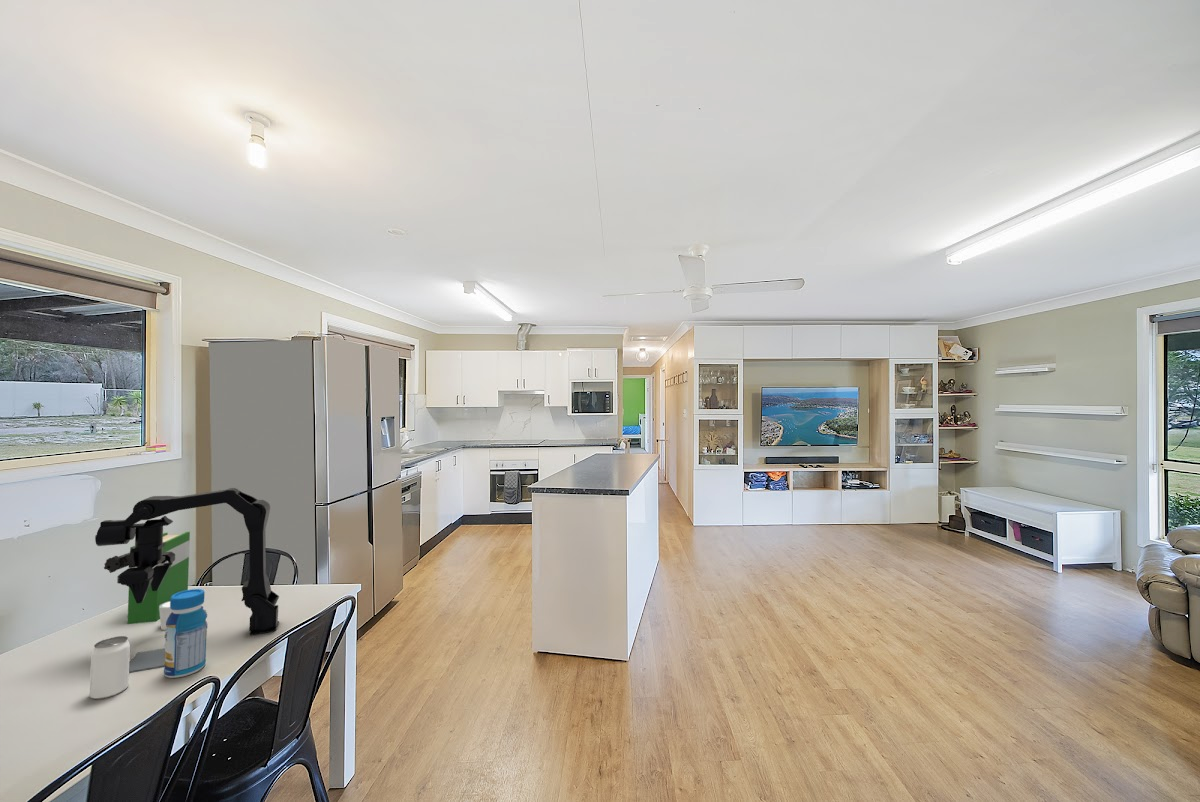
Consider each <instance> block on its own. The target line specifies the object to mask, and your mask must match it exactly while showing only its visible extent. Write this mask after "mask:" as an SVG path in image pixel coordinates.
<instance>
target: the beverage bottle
mask: <svg viewBox="0 0 1200 802" xmlns="http://www.w3.org/2000/svg"><path fill="white" fill-rule="evenodd" d="M205 593H206V592H205V590H204V589H202V588H201V589H200V588H192V589H188V590H185V591H181V592H178V593H176V594H174V595H172V596H171V599H170V608H171V610H172V611H173V612H172V613H171V614H170V615H169V617H168V619H167V621H166V627H167V630H165V631H164V640H165V641H164V648H165V667H163V668H164V670H163V674H164V676H165V678H168V679H169V678H170V679H177V678H183V677H186V676H187V677H188V676H189V675H192V674H195V673H196V672H199V671H200V670H202V669H203V668H204V667H205V665H206V664H207V663H206V661H207V659H206V656H207V655H206V654H207V632H208V627H209V626H208V621H207V618H208V612H207V610H206V609H205V608H204V606H203V604H204V602H205V596H206V595H205Z"/></svg>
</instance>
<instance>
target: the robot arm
mask: <svg viewBox="0 0 1200 802" xmlns="http://www.w3.org/2000/svg"><path fill="white" fill-rule="evenodd" d="M221 504H227V505H229V506H230V507H231V508H233V510H235V511H236V512H237V513H239V514H241V515H243V521H244V524H245V527H246V529H247V531H248V547H249V548H248V552H249V555H248V559H249V561H248V563H249V565H248V566H249V578H248V579H249V580H246V581H245V582H244V583H243V585H242V587H241V592H242V598H241V602H244V606H245V607H247V608H248V609H250V611H251V615H250V616H249V628H248V629H249V631H250V632H249V635H250V636H251V635H258V634H264V633H271V632H276V630H277V628H278V626H279V624H280V621H279V604H277V603H278V601H279V598H280V595H278V594H277V593H275V592H274V591H272V588H271V584H270V579H269V577H268V575H267V562H266V561H267V559H266V557H267V556H266V554H267V553H266V548H267V547H266V529H267V523H268V521H269V516H270V511H271V505H270V503H269V502H268V501H267V500H264V499H257V498H256V497H254V496H252V495H250V494H247V493H244V492H243V491H241V490H240V489H238V488H236V487H230V488H226V489H222V490H221V489H219V490H214V491H207V492H201V493H195V494H189V495H188V494H187V495H182V496H181V495H180V496H175V495H174V496H173V495H172V496H171V495H153V496H152V495H151V496H149V497H147V498H144V499H142V500H139V501H138V502H137V503H136V504H134V505H133V508H132V512H131V514H130V515H128V517H127V518H125V519H119V520H118V519H112V520H111V519H109V520H108V519H107V520H102V521H101V522H100V526H99V528H98V529H97V532H96V535H95V536H94V541H95V542H94V543H95V545H96V546H98V547H105V546H106V547H107V546H115V545H127V544H128V543H130V541H132V540H134V546H135V547H134V548H132V549H131V550H129V552H128V553H124V554H122V555H119V556H118V555H114V556H113V557H109V558H107V559H106V560H105V563H104V567H103V569H104V570H107V571H108V572H109V573H110V574H111V573H114V572H116V571H118V570H121V569H123V568H126V567H128V568H127V569H125V570H124V571H122V572H121V573H120V574H118V576H117V582H116V583H117V584H120V585H122V586H127V587H128V588H129V587H130V589H131V591H132V593H133V596H134V598H135V601H136V603H142V602H143V600H144V598H145V596H146V593H147V591H148V589H149V586H150V584H151V588H152V591H157V590H158V588H159V586H160V585H161V583H162V581H163V579H164V577H165V576H166V574H167V572H168V570H169V569H170V567H171V565H172V564H173V563H172V562H173V561H175V554H174V553H173V552H162V549H163V547H164V546H165V545H166V542H163V533H164V527H167V526H169V525H171V524H173V522H174V521H173V520H172V519H170V518H168V517H167V516H166V515H169V514H171V513H175V512H177V511H182V510H189V509H196V508H201V507H207V506H214V505H221ZM159 517H160V518H159ZM156 518H158V519H156ZM141 521H145V522H144V523H143V522H142V523H141ZM139 522H140V523H139ZM167 561H168V562H169V563H167ZM133 567H137V568H133Z"/></svg>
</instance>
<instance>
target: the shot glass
mask: <svg viewBox="0 0 1200 802" xmlns="http://www.w3.org/2000/svg"><path fill="white" fill-rule="evenodd" d="M159 611H160V619H159V622H160V629H161V630H163V631H164V630H165V631H166V630H167V627H166V621H167V619H168V617H169V615H170V614H171V613H172V612H173V611H172V610H171V608H170V601H169V602H165V603H163V604H161V605H160V606H159Z"/></svg>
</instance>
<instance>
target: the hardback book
mask: <svg viewBox="0 0 1200 802" xmlns="http://www.w3.org/2000/svg"><path fill="white" fill-rule="evenodd" d="M190 534H191V531H185V532H183V533H181V534H168V532H163V542H166V545H165V546H164V547H163V549H162V552H173V553H174V554H175V561H173V562H172V563H173V564H172V565H171V567H170V569H169V570H168V572H167V574H166V576H165V577H164V579H163V581H162V583H161V585H160V586H159V588H158V590H157V591H152V588H151V584H150V586H149V589H148V591H147V593H146V596H145V598H144V600H143V602H142V603H136V601H135V598H134V596H133V593H132V591H131V589H130V587H128V601H127V603H128V604H127V623H126V624H127V625H130V624H131V625H132V624H143V623H153V622H158V621H160V611H159V606H160V605H161V604H163V603H165V602H169V601H170V599H171V596H172V595H174V594H176V593H178V592H181V591H185V590H189V568H190V567H189V566H190V565H189V563H190V539H191V538H190V537H191V536H190ZM134 547H135V545H133V546H131V547H130V550H131V549H132V548H134ZM130 550H129V551H130ZM167 563H169V562H168V561H167ZM133 568H137V567H133Z"/></svg>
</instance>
